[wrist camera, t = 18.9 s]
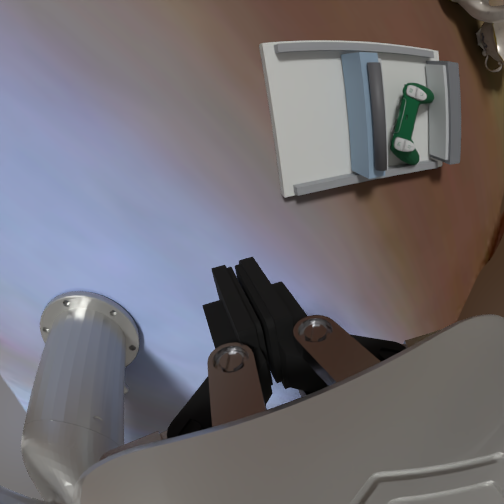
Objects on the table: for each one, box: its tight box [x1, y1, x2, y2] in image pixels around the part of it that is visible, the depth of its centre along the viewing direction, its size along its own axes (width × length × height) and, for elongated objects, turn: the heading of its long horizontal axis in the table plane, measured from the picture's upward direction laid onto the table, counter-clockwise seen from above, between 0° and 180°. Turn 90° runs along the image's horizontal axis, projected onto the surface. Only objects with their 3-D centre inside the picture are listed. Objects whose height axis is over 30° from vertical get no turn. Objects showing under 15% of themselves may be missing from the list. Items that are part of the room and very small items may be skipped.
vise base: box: [259, 41, 461, 198], centre depth 27 cm, size 15×22×4 cm
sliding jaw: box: [341, 52, 388, 179], centre depth 25 cm, size 12×2×4 cm, turn 9°
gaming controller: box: [390, 83, 434, 165], centre depth 27 cm, size 9×4×6 cm
